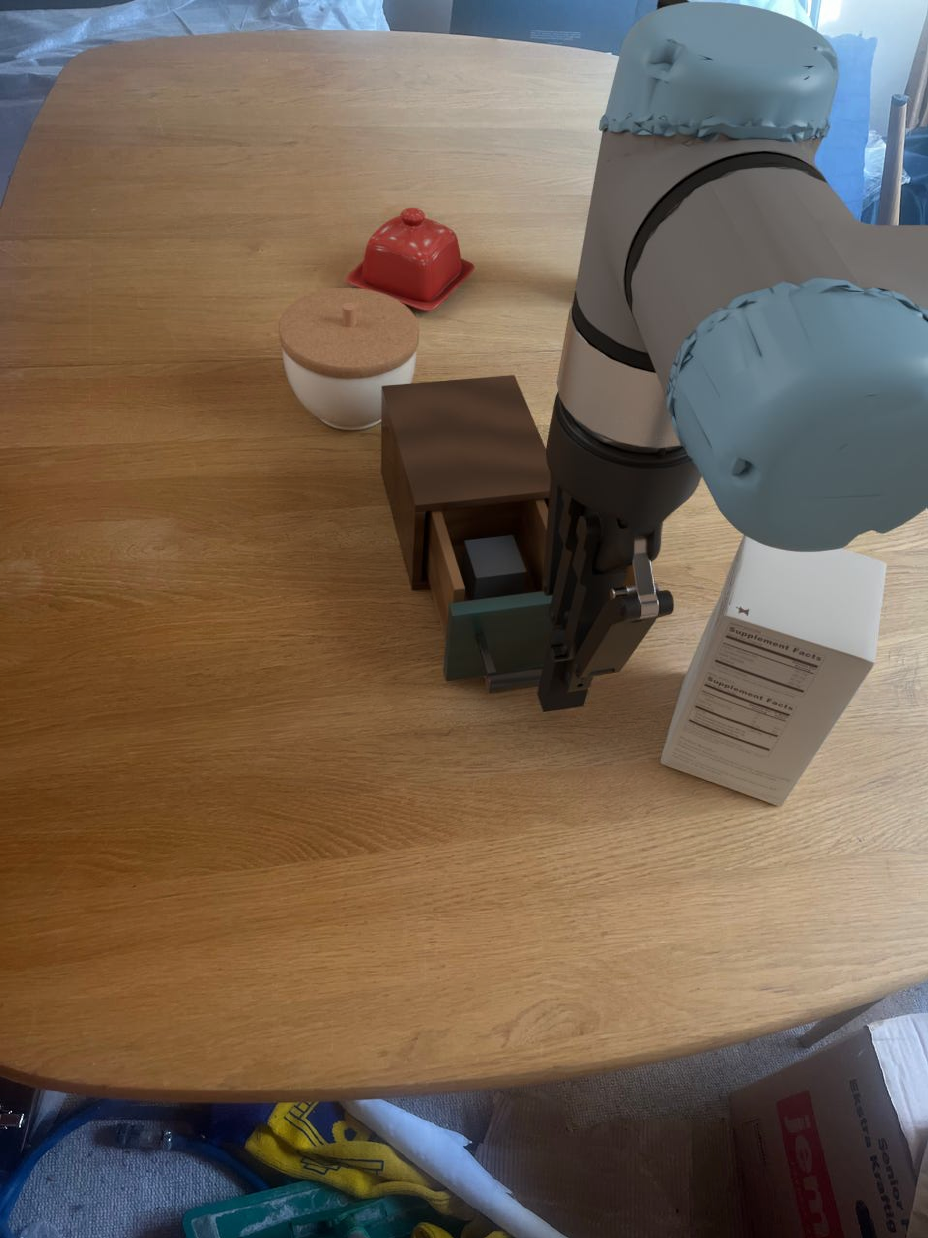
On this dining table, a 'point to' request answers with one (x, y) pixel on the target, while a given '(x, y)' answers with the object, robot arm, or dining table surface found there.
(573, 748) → the dining table surface
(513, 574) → the block
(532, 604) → the drawer
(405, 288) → the butter dish
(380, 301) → the lidded bowl
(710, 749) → the supplement box
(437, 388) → the cabinet
